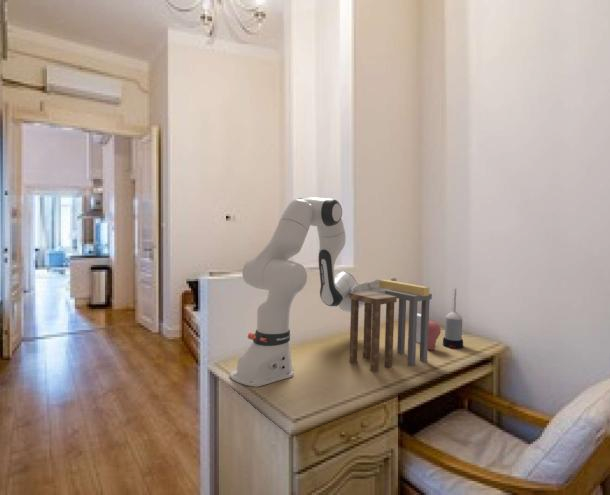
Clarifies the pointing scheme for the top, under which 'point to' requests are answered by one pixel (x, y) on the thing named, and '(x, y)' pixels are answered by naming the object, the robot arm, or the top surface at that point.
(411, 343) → the charcoal stand
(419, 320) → the skincare box
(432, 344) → the light bulb
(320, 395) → the top surface
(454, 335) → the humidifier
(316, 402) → the top surface
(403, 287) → the ochre bar
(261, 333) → the robot arm
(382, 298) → the walnut stand
